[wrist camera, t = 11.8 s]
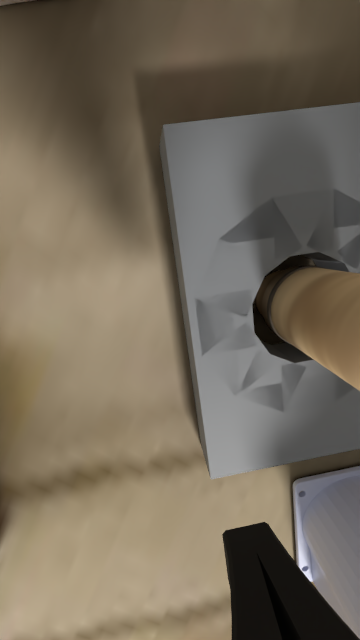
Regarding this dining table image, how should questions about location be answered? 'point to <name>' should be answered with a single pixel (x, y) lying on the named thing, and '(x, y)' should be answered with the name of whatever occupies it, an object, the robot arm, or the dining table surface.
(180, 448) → the dining table surface
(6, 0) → the decorative jar
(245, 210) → the grey peg hole board
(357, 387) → the oak peg
